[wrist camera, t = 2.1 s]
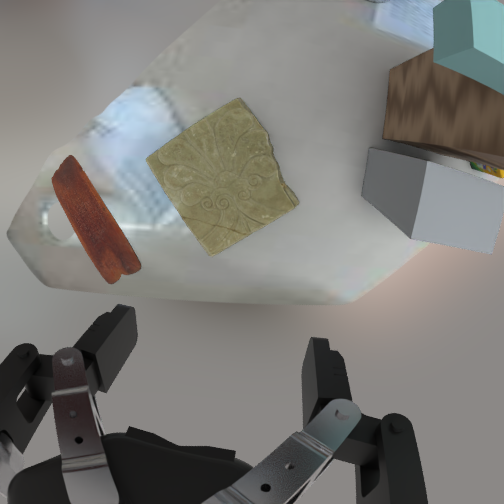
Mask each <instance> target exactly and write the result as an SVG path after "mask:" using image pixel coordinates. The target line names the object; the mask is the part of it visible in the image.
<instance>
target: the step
mask: <svg viewBox="0 0 504 504" xmlns="http://www.w3.org/2000/svg"><path fill="white" fill-rule="evenodd" d="M361 196H362V197H363V198H364V199H366V200H367V201H368V202H369V203H370V204H372V205H373V206H374V207H375V208H376V209H377V210H379V211H380V212H381V213H382V214H383V215H384V216H386V217H387V218H388V219H389V220H390V221H391V222H392V223H393V224H395V225H396V226H397V227H398V228H399V229H400V230H401V231H402V232H403V233H405V234H406V235H407V236H408V237H409V238H410V239H413V240H419V241H425V242H430V243H436V244H441V245H447V246H452V247H457V248H462V249H468V250H472V251H477V252H482V253H488V254H492V252H493V248H494V245H495V242H496V238H497V235H498V232H499V228H500V224H501V221H502V216H503V213H504V186H502V185H499V184H496V183H494V182H491V181H488V180H486V179H483V178H480V177H477V176H474V175H471V174H468V173H465V172H462V171H459V170H456V169H453V168H450V167H447V166H443V165H440V164H436V163H433V162H430V161H426V160H422V159H418V158H414V157H410V156H405V155H401V154H396V153H392V152H387V151H382V150H377V149H372V148H369V153H368V159H367V166H366V172H365V177H364V183H363V189H362V194H361Z"/></svg>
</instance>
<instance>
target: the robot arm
mask: <svg viewBox="0 0 504 504" xmlns="http://www.w3.org/2000/svg"><path fill="white" fill-rule="evenodd" d="M368 1H371V2H378V3H381V2H386V1H389V0H368ZM137 337H138V333H137V324H136V315H135V309H134V307H131V306H126V305H122V304H118V305H117V306H116V307H115V308H114V309H113V310H112V312H111V313H110V312H106V313H104V314H102V315H101V316H99V317H98V318H97V319H96V320H95V321H94V322H93V325H91V326H90V327H89V328H88V330H87V331H86V332H85V333H84V334H83V335H82V336H81V338H80V339H79V340H78V341H77V343H76V344H75V345H74V346H73V347H67V348H62V349H60V350H58V351H57V352H56V353H55V354H54V355H43V354H39V353H38V351H37V348H36V347H35V346H34V345H32V344H29V343H24V344H21V345H18V346H16V347H15V348H14V349H13V350H12V351H11V353H10V354H9V355H8V356H7V357H6V358H5V360H4V361H3V362H2V363H1V364H0V495H2V496H3V497H5V498H6V499H7V500H8V504H295V503H296V502H297V501H298V500H299V499H300V498H301V497H302V496H303V494H304V493H305V492H306V491H307V490H308V489H309V487H310V486H311V485H312V484H313V483H314V482H315V481H316V480H317V479H318V478H319V476H320V475H321V474H322V473H323V472H324V471H325V470H326V469H327V467H328V466H329V465H330V464H331V463H332V462H333V460H334V459H338V460H341V461H345V462H348V463H352V464H355V474H356V503H357V504H428V500H427V494H426V488H425V482H424V477H423V471H422V466H421V461H420V457H419V452H418V447H417V443H416V439H415V434H414V430H413V427H412V424H411V422H410V421H409V420H408V418H406V417H405V416H403V415H401V414H397V413H392V414H388V415H386V416H384V417H383V419H382V420H381V419H377V418H373V417H369V416H366V415H364V414H362V413H361V411H360V409H359V407H358V406H357V405H356V404H355V403H353V402H352V397H351V392H350V387H349V382H348V377H347V372H346V369H345V368H346V367H345V363H344V359H343V357H342V356H341V355H340V353H339V352H338V351H333V350H330V347H329V341H328V339H326V338H317V337H311V338H310V341H309V344H308V348H307V351H306V355H305V359H304V362H303V366H302V402H303V430H302V431H301V432H299V433H298V432H295V433H293V434H292V435H291V436H290V437H289V438H287V439H286V440H285V441H284V442H283V443H282V444H281V445H280V446H279V447H278V448H277V449H275V450H274V451H273V452H272V453H271V454H270V455H268V456H267V457H266V458H265V459H264V460H262V461H261V462H260V463H259V464H258V465H257V466H255V467H254V468H253V467H252V466H251V465H249V464H247V463H246V462H244V461H241V460H240V459H237V458H235V452H236V451H234V450H228V449H222V448H216V447H210V446H178V445H176V444H174V443H172V442H169V441H167V440H165V439H164V438H162V437H160V436H158V435H156V434H154V433H150V432H146V431H143V430H140V429H137V428H134V427H130V426H129V428H128V430H127V432H126V433H111V434H106V432H105V429H104V426H103V423H102V419H101V416H100V412H99V408H98V405H97V401H96V397H95V394H96V392H97V391H98V390H99V391H101V392H104V393H107V391H108V390H109V388H110V386H111V385H112V383H113V381H114V379H115V378H116V376H117V374H118V373H119V371H120V370H121V368H122V366H123V365H124V363H125V361H126V360H127V358H128V357H129V355H130V353H131V352H132V350H133V348H134V347H135V345H136V342H137ZM24 386H25V388H26V389H25V391H24V392H23V393H22V395H21V397H20V398H19V399H18V401H17V397H18V395H19V393H20V392H21V391H22V389H23V388H24ZM16 401H17V402H16ZM51 403H53V411H54V419H55V425H56V432H57V437H58V443H59V448H60V453H61V454H60V455H58V456H56V457H53V458H51V459H49V460H46V461H44V462H41V463H39V464H36V465H34V466H31V467H28V468H26V469H24V468H23V466H24V458H23V455H22V454H23V452H24V451H25V449H26V447H27V445H28V443H29V441H30V440H31V438H32V436H33V434H34V433H35V431H36V429H37V427H38V426H39V424H40V422H41V421H42V419H43V417H44V415H45V414H46V412H47V410H48V409H49V407H50V405H51Z"/></svg>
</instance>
